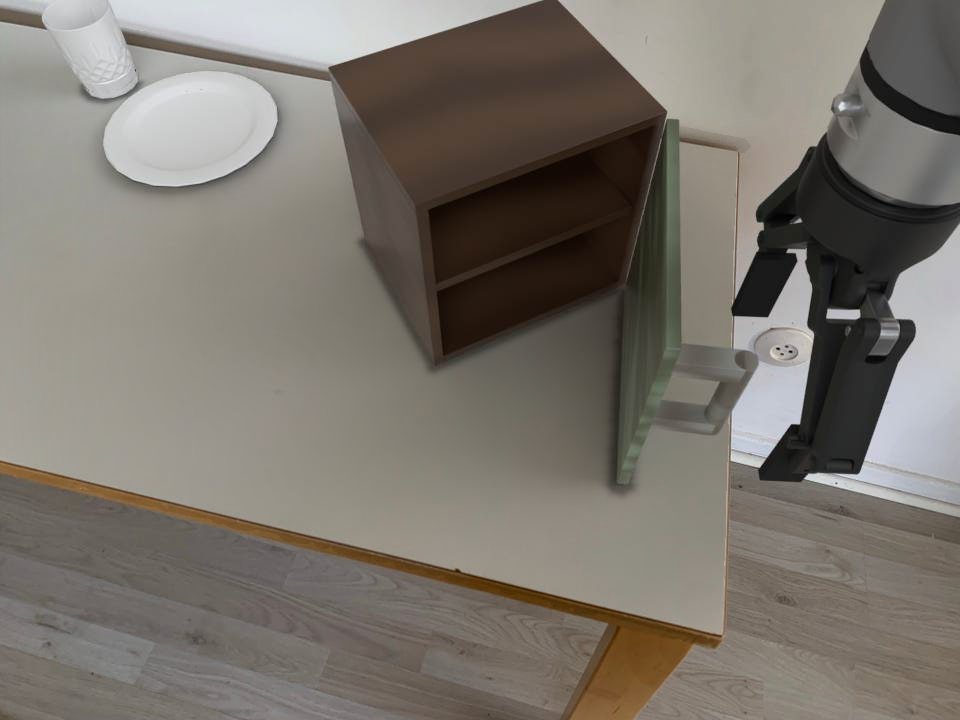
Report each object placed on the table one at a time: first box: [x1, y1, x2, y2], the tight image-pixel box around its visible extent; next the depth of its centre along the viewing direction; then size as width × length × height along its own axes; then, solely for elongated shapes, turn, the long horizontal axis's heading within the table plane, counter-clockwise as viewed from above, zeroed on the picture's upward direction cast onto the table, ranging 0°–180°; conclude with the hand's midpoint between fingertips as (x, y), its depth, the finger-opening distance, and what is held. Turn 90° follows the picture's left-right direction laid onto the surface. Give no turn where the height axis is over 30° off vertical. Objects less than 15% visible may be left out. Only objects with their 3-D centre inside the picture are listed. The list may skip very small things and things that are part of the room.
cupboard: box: [327, 0, 668, 367], centre depth 69 cm, size 18×22×22 cm
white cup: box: [41, 0, 139, 100], centre depth 91 cm, size 8×8×10 cm
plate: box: [102, 70, 279, 189], centre depth 89 cm, size 21×21×2 cm
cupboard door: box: [615, 118, 760, 486], centre depth 61 cm, size 7×22×22 cm, turn 172°
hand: (763, 389), depth 52 cm, fingers open, 13 cm apart
